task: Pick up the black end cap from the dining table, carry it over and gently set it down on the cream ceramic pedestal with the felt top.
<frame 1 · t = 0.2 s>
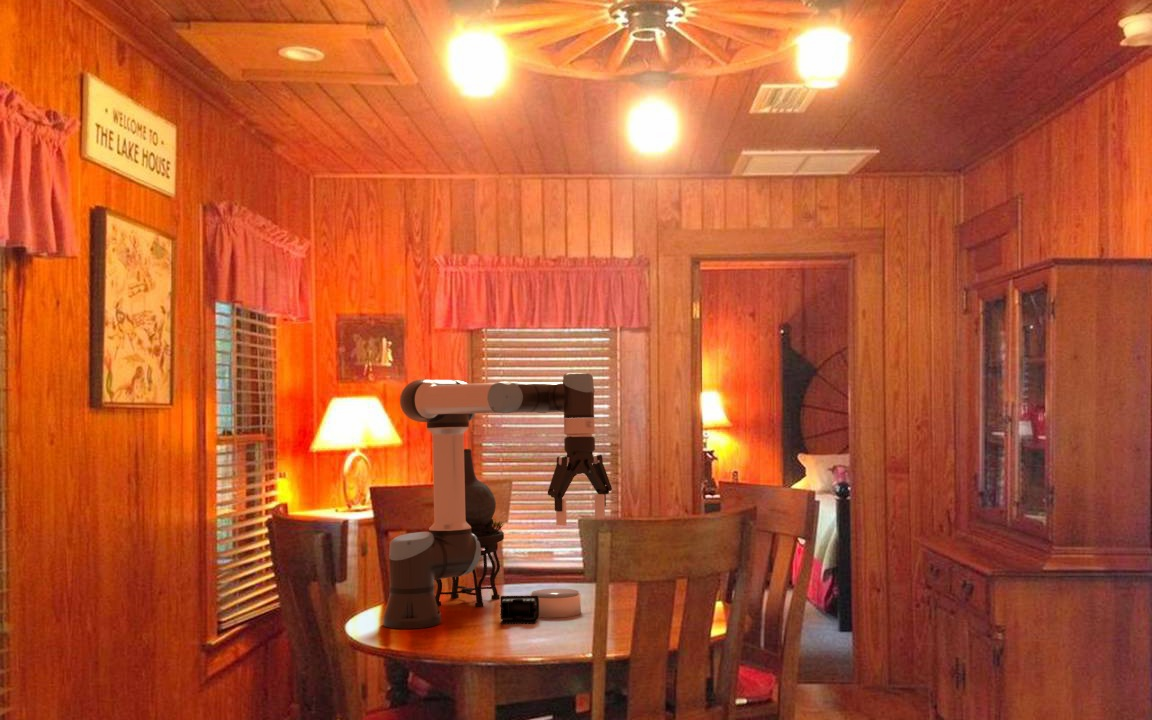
hand: (581, 523, 259), 28 cm above the table, fingers open, 13 cm apart
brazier: (466, 602, 313), on the table
stand: (555, 612, 291), on the table
end cap: (519, 622, 280), on the table
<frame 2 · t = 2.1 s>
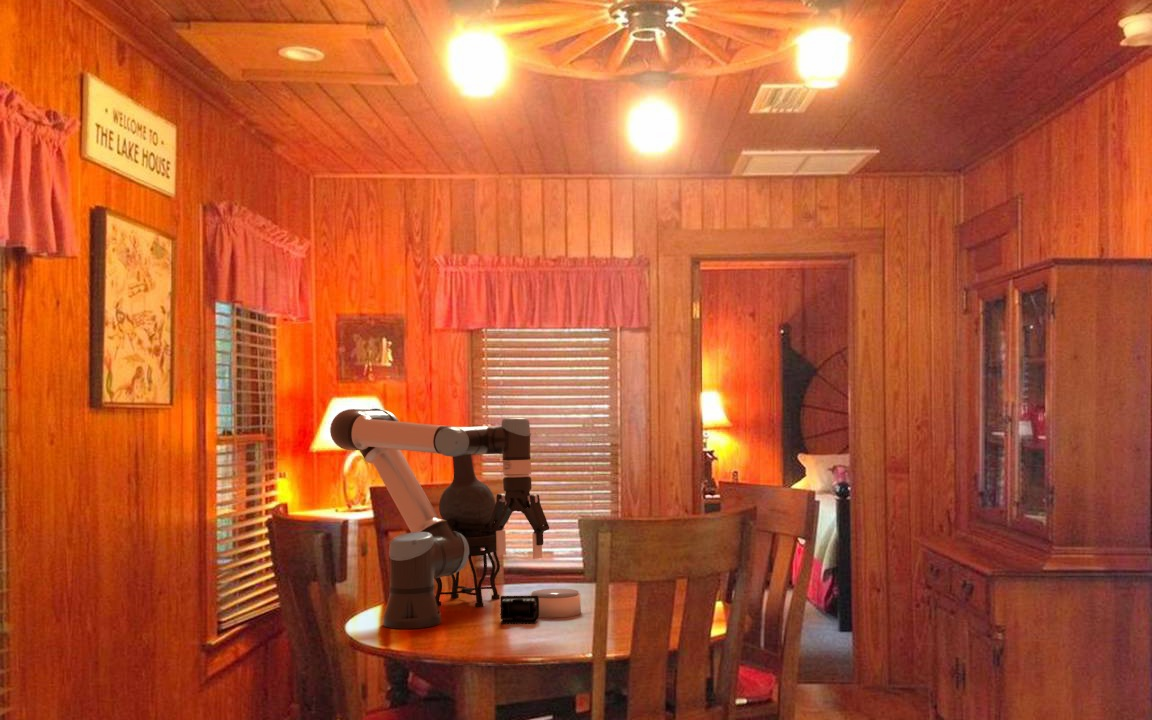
hand: (519, 556, 281), 17 cm above the table, fingers open, 13 cm apart
nothing on the table moved.
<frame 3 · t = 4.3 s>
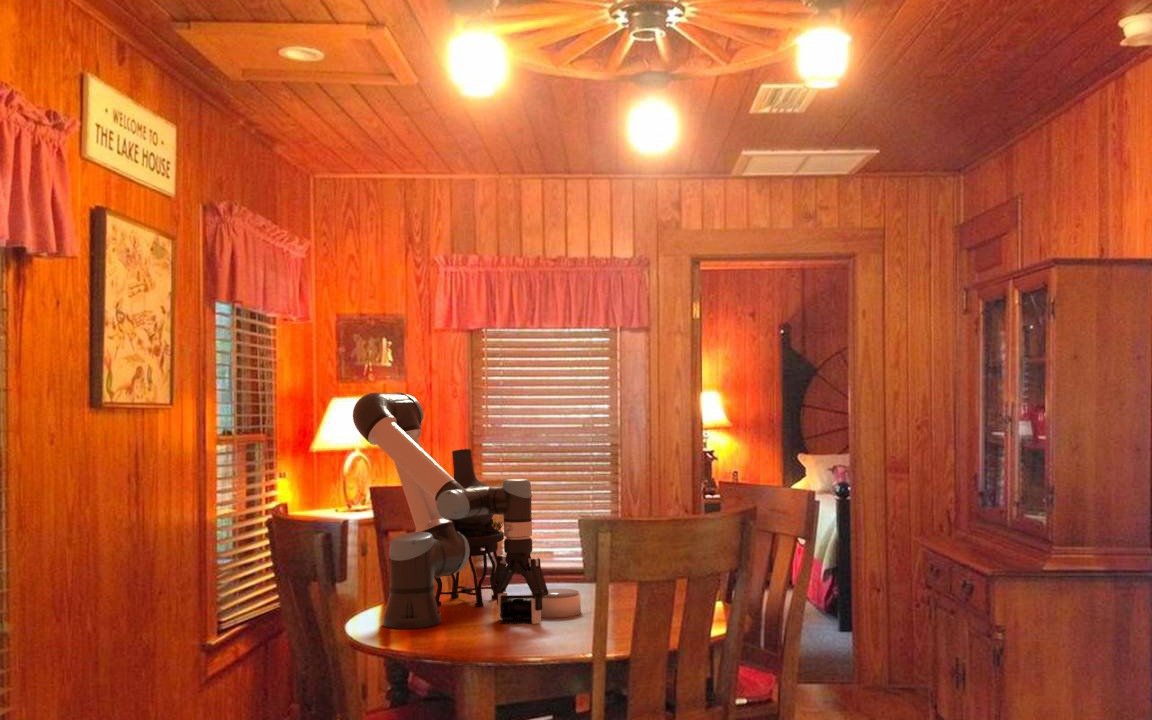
hand: (519, 620, 280), 0 cm above the table, fingers closed on end cap, 12 cm apart
end cap: (519, 622, 280), on the table, touching gripper
everything else where it was.
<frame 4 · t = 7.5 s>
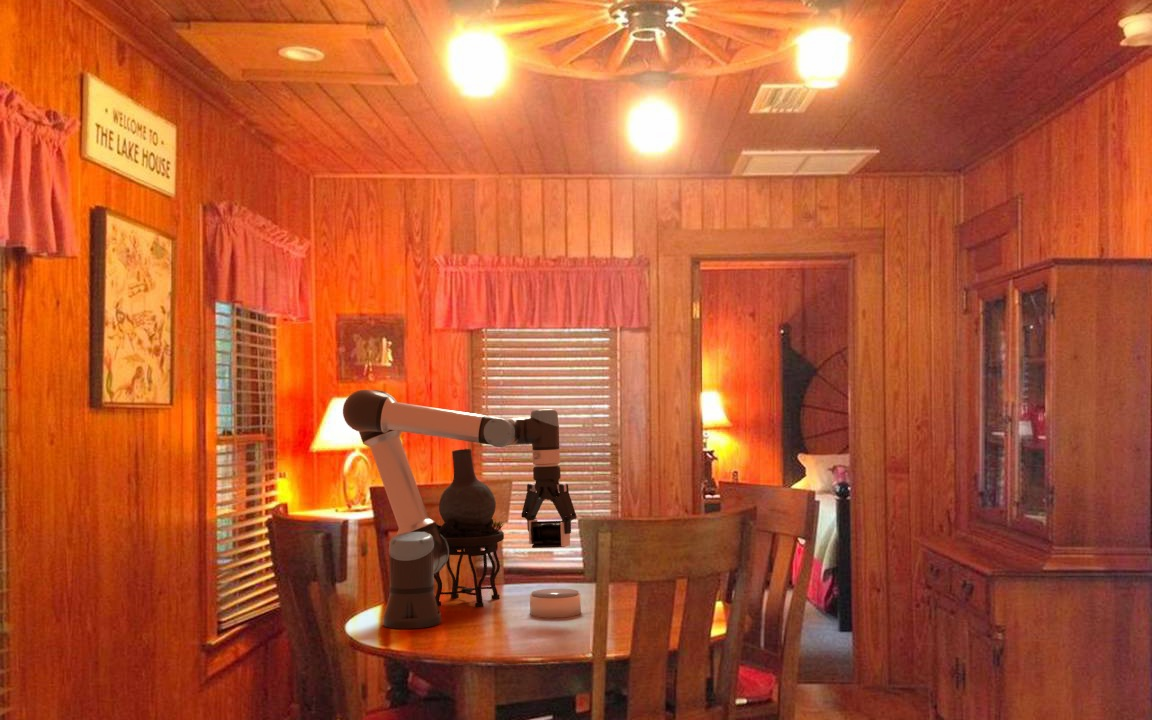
hand: (549, 544, 290), 19 cm above the table, fingers closed on end cap, 12 cm apart
end cap: (549, 546, 290), point 18 cm above the table, touching gripper
everything else where it was.
when the fingers open (8 cm above the table, at t = 10.7 s): end cap drops 2 cm, resting on stand.
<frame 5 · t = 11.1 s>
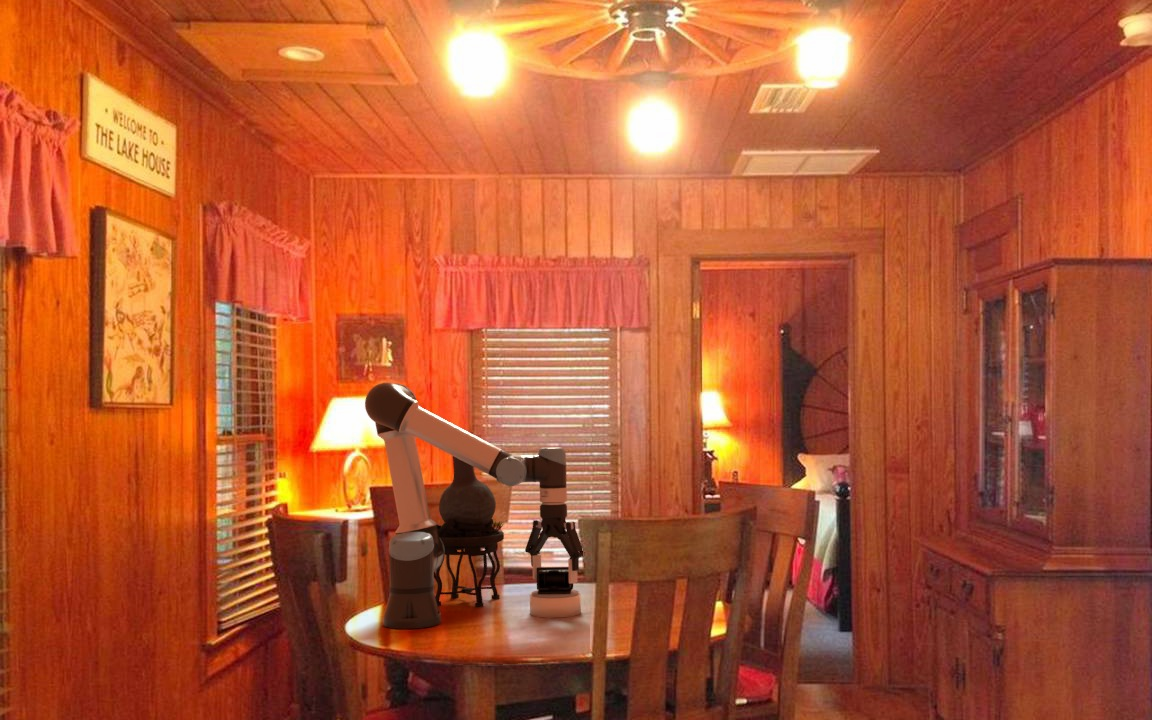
hand: (554, 580, 292), 9 cm above the table, fingers open, 13 cm apart
end cap: (554, 593, 292), point 5 cm above the table, touching stand
everything else where it was.
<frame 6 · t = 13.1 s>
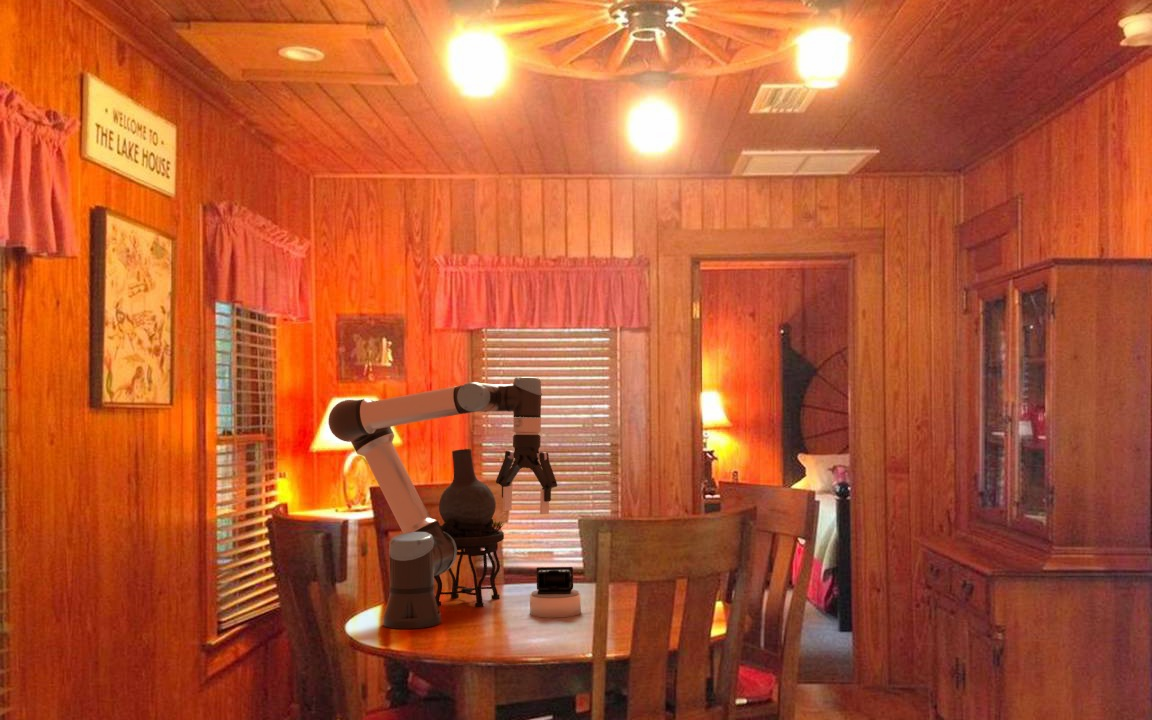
hand: (525, 512, 287), 28 cm above the table, fingers open, 13 cm apart
nothing on the table moved.
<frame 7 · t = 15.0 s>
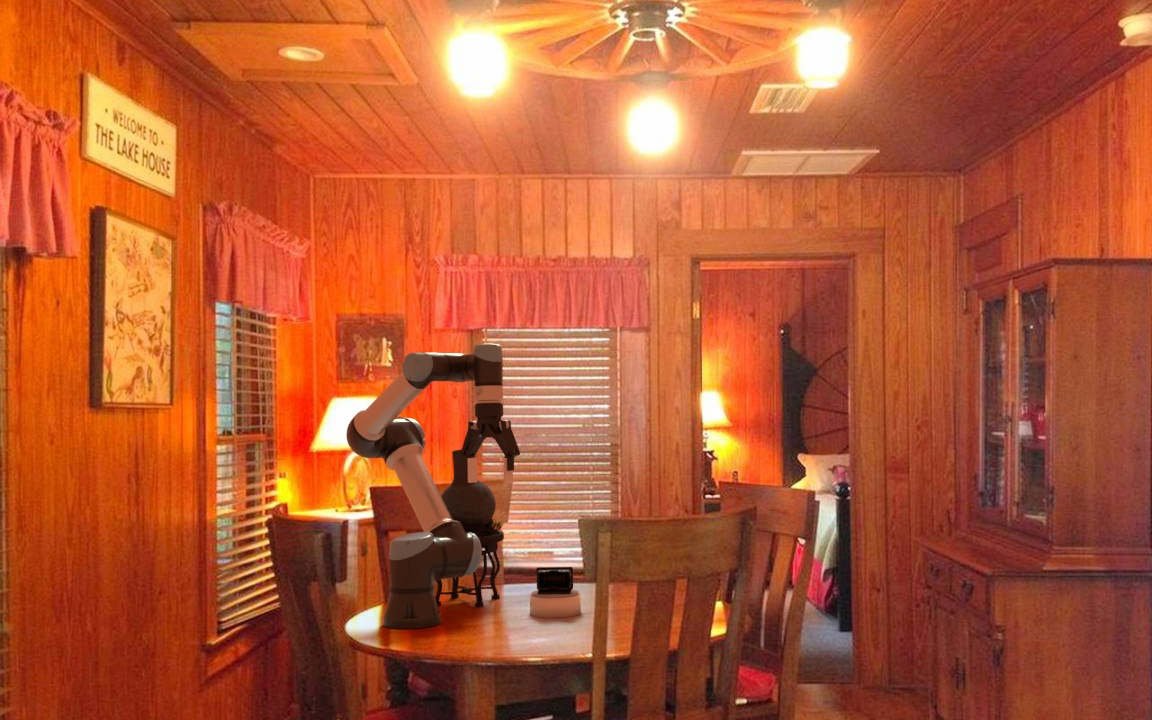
hand: (490, 483, 279), 37 cm above the table, fingers open, 13 cm apart
nothing on the table moved.
at the end: end cap inside the target area on the stand (0.1 cm from its centre), point 5.4 cm above the stand's base; end cap tilted 0°; the gripper is holding nothing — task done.
